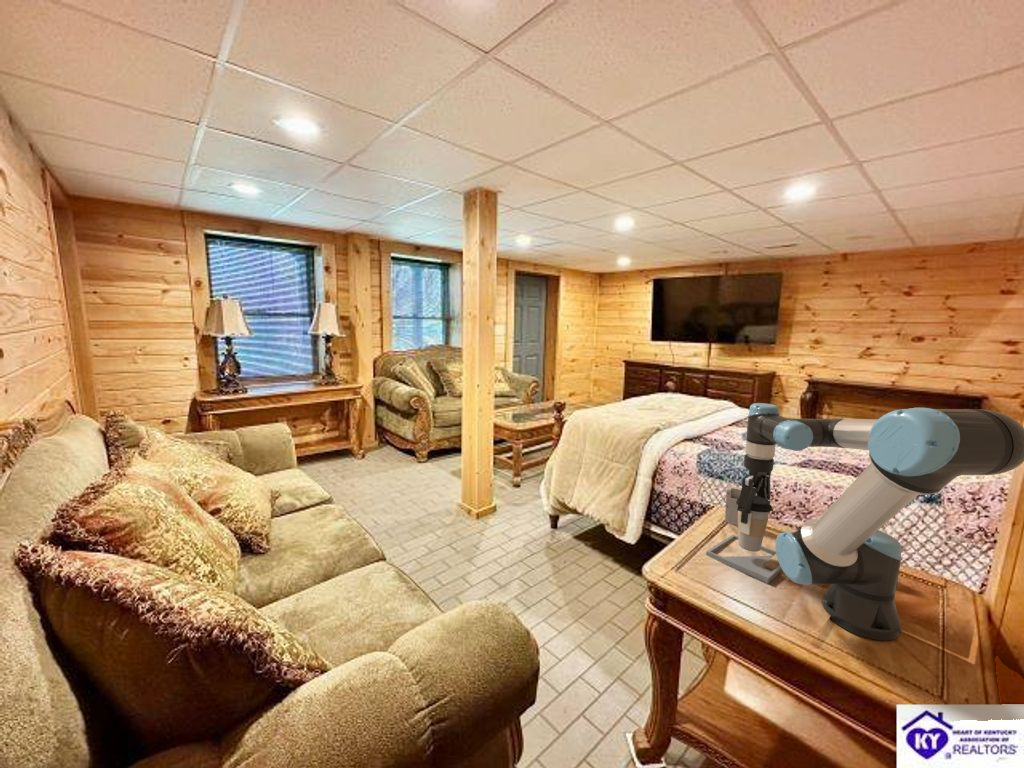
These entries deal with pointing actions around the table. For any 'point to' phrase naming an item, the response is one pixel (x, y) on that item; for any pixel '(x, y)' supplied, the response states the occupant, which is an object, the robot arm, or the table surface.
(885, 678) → the table surface
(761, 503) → the coffee cup
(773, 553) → the grey tray
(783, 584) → the table surface
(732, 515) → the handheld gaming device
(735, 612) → the table surface
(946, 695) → the table surface
